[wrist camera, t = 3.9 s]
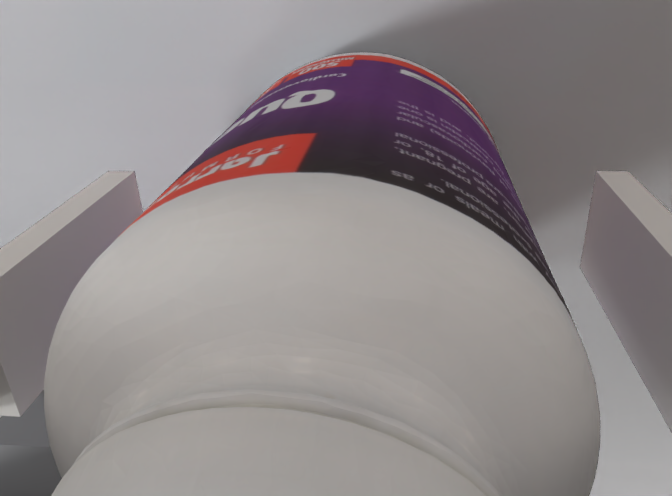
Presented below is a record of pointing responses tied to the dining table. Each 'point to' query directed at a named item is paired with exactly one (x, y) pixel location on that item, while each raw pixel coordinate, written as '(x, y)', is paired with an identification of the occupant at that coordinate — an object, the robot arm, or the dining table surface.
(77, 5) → the dining table surface
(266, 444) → the pill bottle
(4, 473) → the dial scale
